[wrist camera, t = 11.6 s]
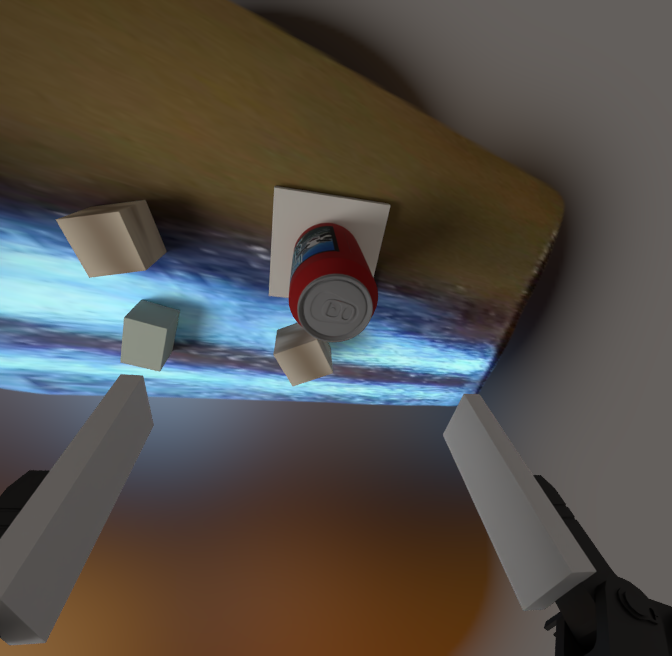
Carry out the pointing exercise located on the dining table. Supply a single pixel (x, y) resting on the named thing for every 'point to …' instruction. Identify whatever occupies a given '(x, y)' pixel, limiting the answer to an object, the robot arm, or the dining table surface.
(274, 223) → the plate
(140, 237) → the beech block
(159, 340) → the sage block
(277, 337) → the maple block
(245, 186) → the dining table surface
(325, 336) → the beverage can
